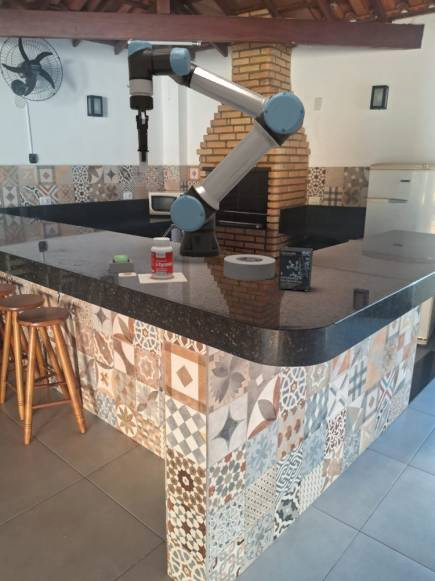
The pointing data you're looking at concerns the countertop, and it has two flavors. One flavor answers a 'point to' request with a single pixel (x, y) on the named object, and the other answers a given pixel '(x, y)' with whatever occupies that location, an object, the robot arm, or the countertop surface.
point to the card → (127, 274)
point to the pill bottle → (161, 259)
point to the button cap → (120, 258)
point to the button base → (121, 266)
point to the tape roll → (249, 267)
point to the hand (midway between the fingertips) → (143, 172)
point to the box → (295, 268)
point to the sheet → (149, 279)
